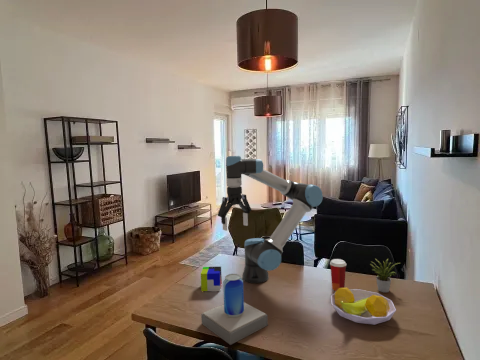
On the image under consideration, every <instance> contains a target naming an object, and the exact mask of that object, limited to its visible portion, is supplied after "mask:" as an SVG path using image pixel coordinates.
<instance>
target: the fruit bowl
mask: <svg viewBox="0 0 480 360" xmlns="http://www.w3.org/2000/svg"><path fill="white" fill-rule="evenodd" d="M330 300H331V301H330V304H331V306H332V307H333V308H334V310H335V311H336V312H337V314H338V315H339V316H340V317H342V318H345V319H347V320H348V321H349V320H350V321H352V322H354V323H359V324H366V325H367V324H368V325H374V326H375V325H377V324H381V323H385V322H387V321H390V320H391V318H392V317H393V315H394V314H395V313H396V311H397V309H396V307H395V305H394V302H393V300H391V299H390V298H388V297H386V296H384V295H382V294H381V293H378V292H374V291H370V290H369V291H368V290H365V289H359V288H354V289H349V287H344V288H338V289H337V291H335V292H334V293H333V294H331V295H330Z"/></svg>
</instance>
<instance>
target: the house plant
mask: <svg viewBox="0 0 480 360" xmlns="http://www.w3.org/2000/svg"><path fill="white" fill-rule="evenodd" d="M374 259H375V261H376V262H377V263H378V265H379V266H378V265H377V264H376V263H375V262H373V261H371V263H369V265H370V266H371V267H372V271H374V273H376V274H377V276H376V277H375V279H376V286H377V290H378V291H379V292H381V293H389V292H390V288H391V283H392V278H391V277H392V276H395V274H396V271H391V270H393V269H394V268H395V266H396V265H398V264H401V262H397V263H396V262H395V263H394V264H392V262H388V261H389V258H386V260H385V261H384V260H382V262H383V265H382V263H381V261H380V260H378V259H377V258H374ZM373 264H374V265H375V266H374V265H373ZM391 264H392V265H391Z"/></svg>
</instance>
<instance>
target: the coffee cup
mask: <svg viewBox="0 0 480 360" xmlns="http://www.w3.org/2000/svg"><path fill="white" fill-rule="evenodd" d="M329 266H330V274H331V288H332V291H335V292H336V291H337V289H338V288H345V287H346V286H345V283H346V268H347V263H346V261H345V260H343V259H341V258H333V259H331V260H330V261H329Z"/></svg>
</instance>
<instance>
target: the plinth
mask: <svg viewBox="0 0 480 360" xmlns="http://www.w3.org/2000/svg"><path fill="white" fill-rule="evenodd" d="M200 316H201V318H200V319H201V324H202V325H203V326H204V327H206V328H207V329H208V330H209V331H211V332H212V333H214V334H215V335H216V336H218V337H219V338H220V339H222V340H223V341H225V343H227V344H229V346H231V345H233V344H235V343H237V342H239V341H241V340H243V339H244V338H245V339H246V338H247V337H248V336H250V335H252V334H253V333H256V332H257V331H260V330H261V329H264V328H265V327H267V326H268V325H269V324H268V323H269V322H268V320H269V319H268V314H267V313H265V312H263V311H262V310H259V308H258V309H257V308H256V307H254V306H253V305H250V304H248V303H246V302H245V301H244V312H243V313H242V315H241V316H239V317H229V316H227V315H226V313H225V312H224V303H222V304H221V305H218V306H216V307H213V308H210V309H208V310H206V311H204V312H202V313H201V315H200Z"/></svg>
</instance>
